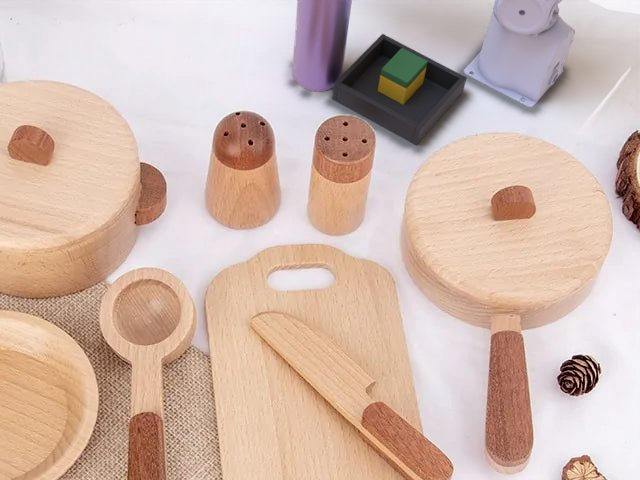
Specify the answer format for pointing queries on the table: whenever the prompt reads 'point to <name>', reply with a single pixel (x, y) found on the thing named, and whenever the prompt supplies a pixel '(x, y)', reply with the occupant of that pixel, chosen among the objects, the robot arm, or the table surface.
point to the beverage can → (320, 42)
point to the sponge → (402, 75)
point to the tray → (401, 119)
